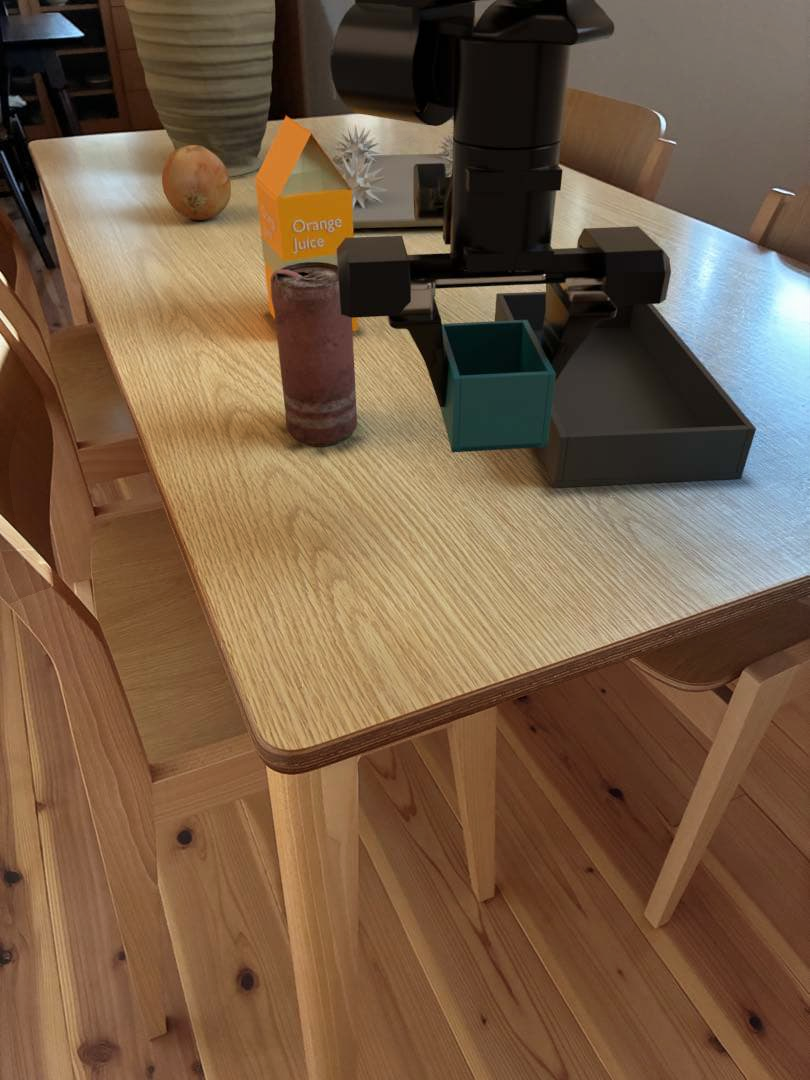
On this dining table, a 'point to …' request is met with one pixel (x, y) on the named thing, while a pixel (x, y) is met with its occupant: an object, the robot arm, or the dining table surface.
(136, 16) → the vase
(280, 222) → the orange juice
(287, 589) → the dining table surface
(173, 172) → the onion
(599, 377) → the tray
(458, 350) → the teal bin
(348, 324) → the soda can
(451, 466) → the dining table surface
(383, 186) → the decorative tray
